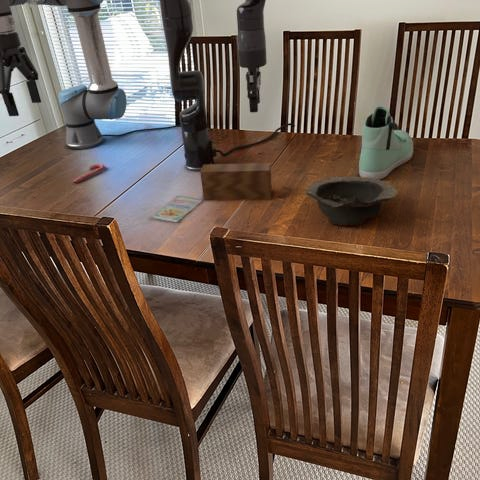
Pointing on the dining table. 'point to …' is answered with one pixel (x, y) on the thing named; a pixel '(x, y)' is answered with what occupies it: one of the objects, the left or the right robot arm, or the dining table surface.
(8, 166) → the dining table surface
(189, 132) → the right robot arm
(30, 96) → the left robot arm
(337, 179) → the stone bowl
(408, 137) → the sneaker
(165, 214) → the baking ingredient package
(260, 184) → the box
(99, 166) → the candy cane
